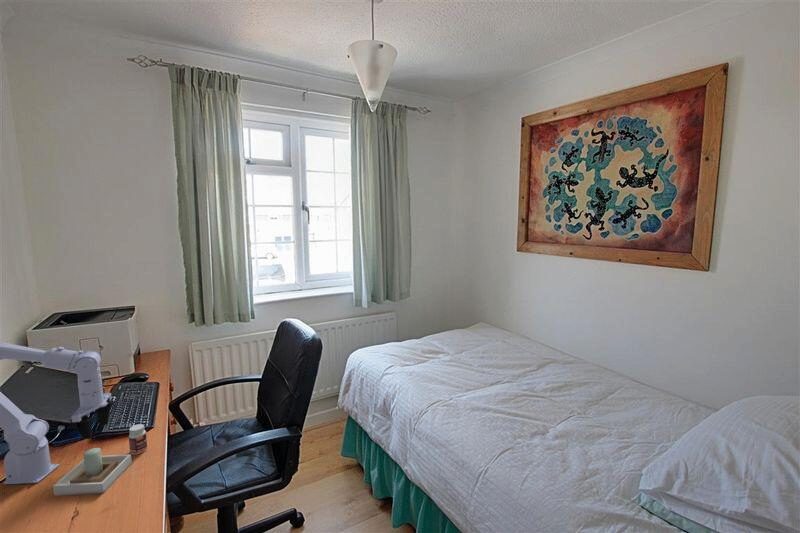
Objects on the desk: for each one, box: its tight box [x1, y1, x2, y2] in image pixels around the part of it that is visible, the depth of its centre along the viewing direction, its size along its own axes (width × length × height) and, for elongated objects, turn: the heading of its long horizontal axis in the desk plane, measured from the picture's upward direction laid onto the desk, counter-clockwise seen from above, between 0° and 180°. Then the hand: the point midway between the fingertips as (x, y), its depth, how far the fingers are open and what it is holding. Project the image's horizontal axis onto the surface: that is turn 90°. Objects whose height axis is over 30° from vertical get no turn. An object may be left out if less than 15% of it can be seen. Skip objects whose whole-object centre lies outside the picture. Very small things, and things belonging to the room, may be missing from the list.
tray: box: [52, 453, 133, 497], centre depth 113 cm, size 13×13×3 cm
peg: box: [82, 447, 103, 477], centre depth 112 cm, size 4×4×8 cm
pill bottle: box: [128, 423, 148, 456], centre depth 125 cm, size 5×5×8 cm
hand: (95, 431), depth 120 cm, fingers open, 7 cm apart
